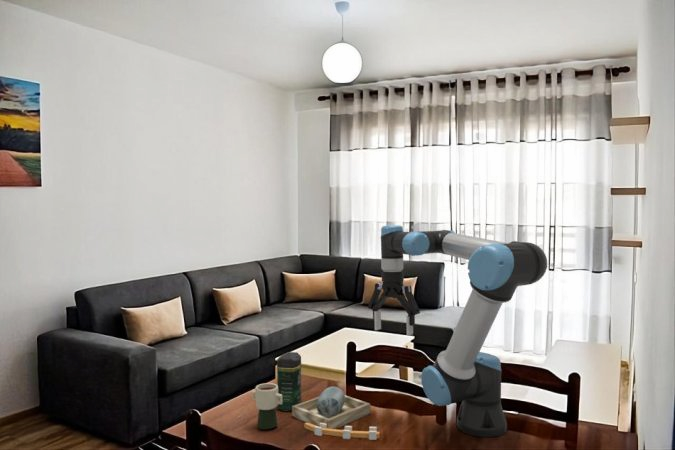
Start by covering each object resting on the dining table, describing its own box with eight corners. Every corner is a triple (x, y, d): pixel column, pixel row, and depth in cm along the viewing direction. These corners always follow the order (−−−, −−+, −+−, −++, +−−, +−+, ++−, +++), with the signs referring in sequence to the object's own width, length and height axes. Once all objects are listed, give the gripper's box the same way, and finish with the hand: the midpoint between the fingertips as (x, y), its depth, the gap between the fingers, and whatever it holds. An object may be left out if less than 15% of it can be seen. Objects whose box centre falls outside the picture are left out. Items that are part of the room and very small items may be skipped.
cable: (380, 436, 162) (380, 431, 162) (377, 441, 158) (377, 437, 158) (305, 426, 170) (305, 422, 169) (301, 431, 166) (301, 427, 166)
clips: (378, 434, 163) (378, 426, 163) (376, 441, 158) (375, 433, 158) (317, 429, 167) (317, 422, 167) (313, 436, 162) (313, 428, 162)
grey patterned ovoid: (342, 414, 169) (331, 383, 172) (317, 425, 171) (305, 395, 174) (355, 409, 182) (344, 381, 185) (331, 420, 184) (320, 391, 187)
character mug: (288, 425, 171) (287, 385, 170) (277, 434, 164) (276, 392, 163) (258, 420, 175) (257, 381, 174) (246, 429, 168) (245, 388, 168)
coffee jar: (297, 412, 181) (296, 358, 180) (274, 411, 182) (273, 357, 182) (304, 402, 190) (303, 350, 190) (282, 401, 192) (282, 349, 191)
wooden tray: (370, 414, 179) (370, 403, 179) (328, 431, 165) (328, 420, 165) (333, 401, 191) (333, 391, 191) (292, 416, 177) (291, 406, 177)
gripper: (429, 271, 178) (430, 335, 178) (370, 267, 195) (372, 325, 195) (416, 273, 172) (417, 339, 173) (357, 269, 189) (358, 329, 190)
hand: (393, 332), depth 184 cm, fingers open, 13 cm apart
